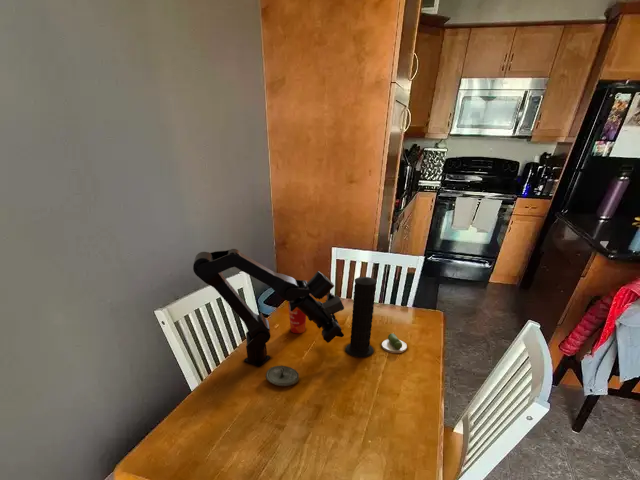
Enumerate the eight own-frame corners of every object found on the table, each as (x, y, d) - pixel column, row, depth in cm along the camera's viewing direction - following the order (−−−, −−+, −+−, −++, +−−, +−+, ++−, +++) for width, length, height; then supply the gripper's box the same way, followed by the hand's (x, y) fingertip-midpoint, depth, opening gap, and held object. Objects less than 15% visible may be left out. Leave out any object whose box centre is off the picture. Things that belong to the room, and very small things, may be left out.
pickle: (410, 351, 129) (412, 342, 127) (386, 354, 128) (387, 345, 126) (401, 339, 136) (402, 330, 134) (378, 341, 135) (379, 332, 133)
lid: (264, 378, 118) (259, 367, 114) (291, 364, 120) (287, 353, 116) (276, 397, 110) (272, 386, 107) (305, 382, 113) (301, 371, 109)
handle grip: (373, 358, 125) (373, 343, 134) (382, 284, 110) (381, 272, 118) (344, 356, 126) (346, 341, 134) (349, 282, 111) (350, 271, 119)
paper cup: (285, 327, 143) (283, 293, 135) (303, 323, 146) (302, 290, 137) (292, 336, 137) (291, 301, 129) (311, 332, 140) (311, 298, 132)
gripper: (336, 302, 107) (368, 332, 115) (323, 279, 122) (352, 307, 130) (309, 328, 110) (343, 356, 119) (300, 303, 125) (330, 329, 133)
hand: (342, 335), depth 125 cm, fingers closed
